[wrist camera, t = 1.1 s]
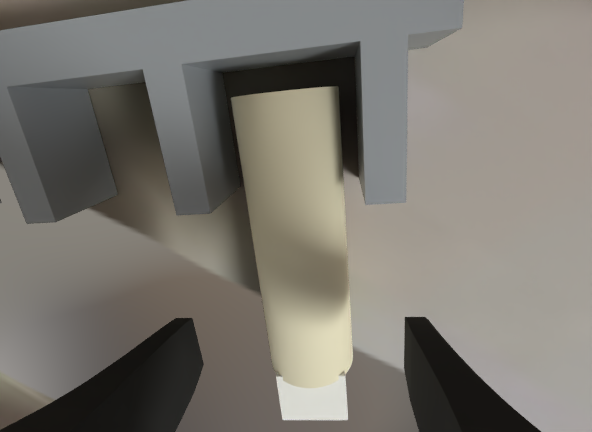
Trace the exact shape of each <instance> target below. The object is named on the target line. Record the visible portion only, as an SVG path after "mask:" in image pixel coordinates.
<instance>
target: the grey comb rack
mask: <svg viewBox="0 0 592 432" xmlns="http://www.w3.org/2000/svg"><path fill="white" fill-rule="evenodd" d="M463 6H464V0H187V1H180V2H174V3H168V4H162V5H155V6H149V7H143V8H137V9H131V10H124V11H118V12H112V13H106V14H99V15H93V16H87V17H81V18H74V19H68V20H62V21H56V22H49V23H43V24H37V25H31V26H24V27H18V28H12V29H6V30H0V158H1V160H2V163H3V165H4V168H5V170H6V173H7V175H8V178H9V180H10V183H11V185H12V188H13V190H14V193H15V195H16V198H17V200H18V203H19V205H20V208H21V211H22V213H23V215H24V218H25V221H26V223H27V224H29V223H48V222H57V221H59V220H62V219H64V218H66V217H68V216H71V215H73V214H75V213H78V212H80V211H82V210H84V209H87V208H89V207H91V206H93V205H96V204H98V203H100V202H102V201H105V200H107V199H109V198H112V197H114V196H116V195H118V193H117V190H116V186H115V183H114V179H113V176H112V172H111V169H110V166H109V162H108V159H107V155H106V152H105V148H104V145H103V141H102V138H101V134H100V131H99V127H98V124H97V121H96V117H95V114H94V110H93V107H92V103H91V100H90V96H89V93H88V89H93V88H101V87H110V86H118V85H126V84H134V83H142V82H146V86H147V90H148V95H149V99H150V103H151V108H152V112H153V116H154V120H155V125H156V129H157V133H158V138H159V142H160V146H161V150H162V155H163V159H164V163H165V168H166V172H167V176H168V181H169V185H170V189H171V193H172V198H173V202H174V206H175V211H176V215H191V214H209V213H212V212H213V211H214V210H215V209H216V208H217V207H218V206H219V205H220V204H222V203H223V202H224V201H225V200H226V199H227V198H228V197H229V196H230V195H232V194H233V193H234V192H235V191H236V190H237V189H238V188H239V187H240V180H239V174H238V167H237V161H236V155H235V149H234V142H233V136H232V130H231V123H230V117H229V111H228V105H227V98H226V92H225V86H224V80H223V72H232V71H240V70H248V69H256V68H264V67H272V66H280V65H288V64H297V63H305V62H313V61H321V60H329V59H337V58H345V57H354V56H355V81H356V108H357V135H358V163H359V180H360V184H361V188H362V192H363V197H364V201H365V205H370V204H388V203H406V172H407V87H408V50H410V49H419V48H427V47H429V46H431V45H432V44H434V43H436V42H438V41H440V40H441V39H443V38H445V37H447V36H448V35H450V34H452V33H454V32H456V31H457V30H459V29H461V28H462V22H463ZM0 203H1V200H0Z"/></svg>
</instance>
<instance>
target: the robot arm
mask: <svg viewBox="0 0 592 432" xmlns="http://www.w3.org/2000/svg"><path fill="white" fill-rule="evenodd" d="M202 367H203V360H202V355H201V351H200V347H199V344H198V339H197V335H196V331H195V327H194V323H193V319H192V318H176V319H174V320H173V321H171V322H169V323H168V324H167V325H165V326H164V327H162V328H161V329H160V330H158V331H157V332H155V333H154V334H153V335H151V337H149V338H147V339H146V340H145V341H143V342H142V343H141V344H139V345H138V346H136V348H134V349H133V350H131V351H130V352H129V353H127V354H126V355H124V356H123V357H122V358H120V359H119V360H117V361H116V362H114V363H113V364H111V365H110V366H108V367H107V368H106V369H104V370H103V371H101V372H100V373H98V374H97V375H95V376H94V377H92V378H91V379H89V380H88V381H87V382H85V383H83V384H82V385H80V386H79V387H77V388H75V389H74V390H72V391H70V392H69V393H67V394H65V395H64V396H62V397H60V398H59V399H57V400H55V401H54V402H52V403H50V404H48V405H47V406H45V407H43V408H41V409H39V410H37V411H35V412H34V413H32V414H30V415H28V416H26V417H24V418H22V419H20V420H19V421H17V422H15V423H13V424H11V425H9V426H7V427H5V428H3V429H1V430H0V432H175V431H176V429H177V427H178V425H179V423H180V421H181V419H182V416H183V415H184V413H185V410H186V408H187V406H188V404H189V402H190V400H191V398H192V395H193V393H194V391H195V388H196V385H197V383H198V380H199V377H200V374H201V371H202ZM404 369H405V375H406V380H407V386H408V391H409V397H410V401H411V405H412V408H413V412H414V415H415V418H416V422H417V426H418V429H419V432H541V431H540V430H538V429H537V428H536V427H535V426H533V425H532V424H531V423H530V422H529V421H527V420H526V419H525V418H524V417H523V416H521V415H520V414H519V413H518V412H517V411H516V410H514V409H513V408H512V407H511V406H510V405H509V404H508V403H507V402H505V401H504V400H503V399H502V398H501V397H500V396H499V395H498V394H497V393H496V392H495V391H494V390H493V389H491V388H490V387H489V386H488V385H487V384H486V383H485V382H484V381H483V380H482V379H481V378H480V377H479V376H478V375H477V374H476V373H475V372H474V371H473V370H472V369H471V368H470V367H469V366H468V365H467V364H466V362H465V361H464V360H463V359H462V358H461V357H460V356H459V355H458V354H457V353H456V352H455V351H454V350H453V348H452V347H451V346H450V345H449V344H448V343H447V342H446V341H445V339H444V338H443V337H442V336H441V335H440V334H439V332H438V331H437V330H436V329H435V328H434V326H433V325H432V324H431V323H430V321H429V320H428V319H427V318H426V317H405V350H404Z"/></svg>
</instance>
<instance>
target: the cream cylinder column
mask: <svg viewBox="0 0 592 432" xmlns="http://www.w3.org/2000/svg"><path fill="white" fill-rule="evenodd" d="M231 103H232V109H233V116H234V122H235V129H236V135H237V142H238V148H239V154H240V161H241V167H242V174H243V180H244V187H245V193H246V200H247V206H248V212H249V219H250V225H251V232H252V238H253V245H254V251H255V257H256V264H257V270H258V277H259V283H260V290H261V296H262V302H263V309H264V315H265V321H266V327H267V335H268V341H269V347H270V354H271V360H272V365H273V369H274V371H275V372H276V374H277V375H276V379H277V386H278V392H279V399H280V405H281V412H282V419H283V420H348V411H347V396H346V380H345V374H346V373H347V371H348V370H349V368H350V366H351V364H352V360H353V350H352V331H351V312H350V293H349V275H348V256H347V237H346V218H345V199H344V180H343V161H342V142H341V123H340V104H339V87H338V86H332V87H317V88H306V89H296V90H286V91H276V92H268V93H259V94H251V95H244V96H237V97H232V98H231Z"/></svg>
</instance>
